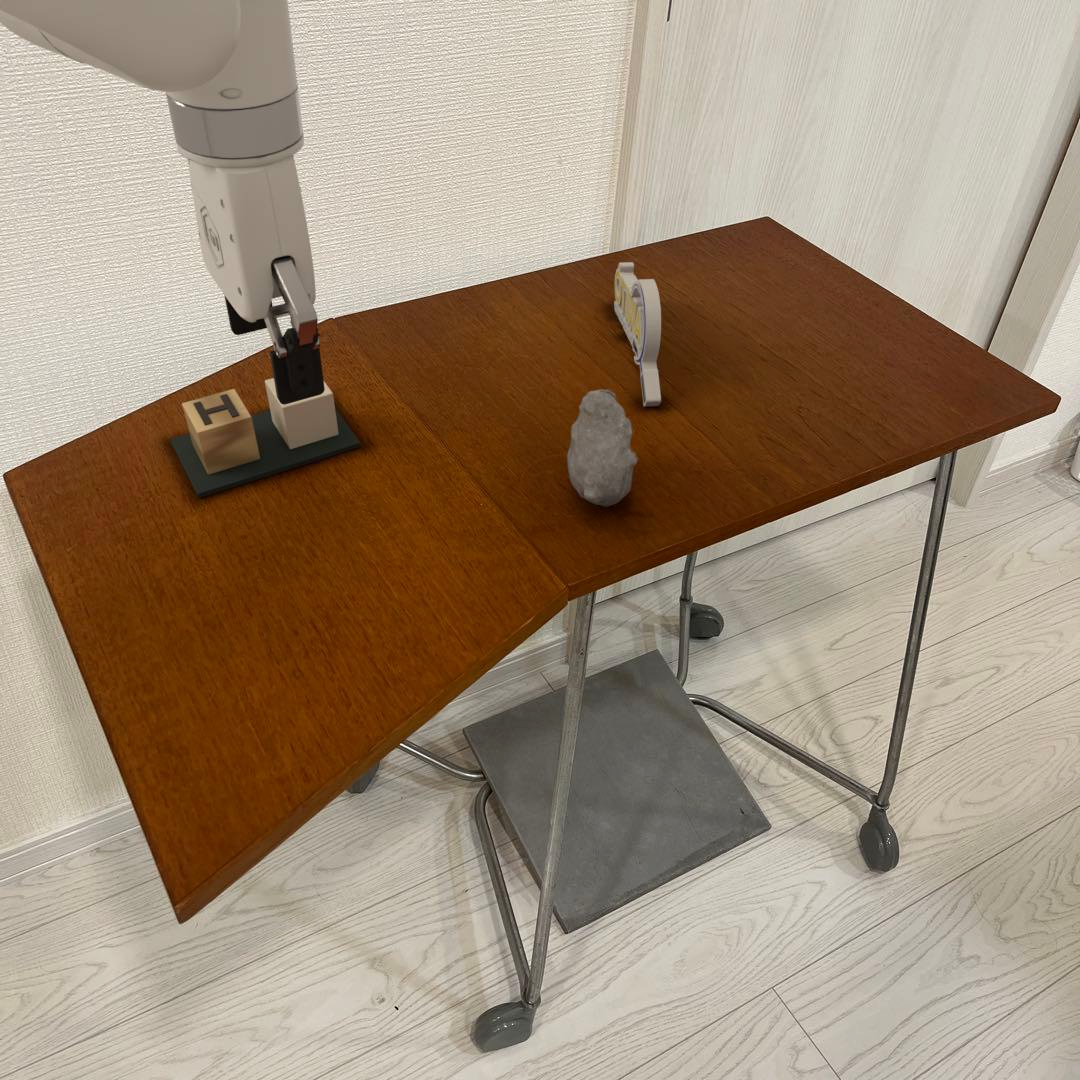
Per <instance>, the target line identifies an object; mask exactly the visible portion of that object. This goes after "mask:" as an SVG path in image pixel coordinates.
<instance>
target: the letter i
mask: <svg viewBox="0 0 1080 1080" xmlns="http://www.w3.org/2000/svg"><path fill="white" fill-rule="evenodd" d="M264 386H265V390H266V395H267V400H268V406H269V410H270V411H271V416H272V421H273V423H274V425H275V426H276V428H277V429H278V431H279V433H280V434H281V436H282V437H283V439H284V441H285V442H286V444H287V445H288V447H289V449H294V448H297V447H300V446H303V445H307V444H310V443H313V442H316V441H319V440H323V439H326V438H329V437H332V436H336V435H338V426H337V419H336V412H335V408H336V406H335V398H334V397H335V396H334V392H333V390H331V388H330V387H329V386H328V384H327V383H326V381H324V388H325V390H324V392H323V393H322V394H321V395H318V396H314V397H310V398H307V399H303V400H300V401H296V402H293V403H289V404H285V405H284V404H281V403H280V401H279V400H278V398H277V394H276V388H275V382H274V377H272V378H268V379H265V380H264Z"/></svg>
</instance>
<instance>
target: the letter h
mask: <svg viewBox="0 0 1080 1080" xmlns="http://www.w3.org/2000/svg"><path fill="white" fill-rule="evenodd" d="M181 406H182V410H183V413H184V417H185V421H186V425H187V429H188V432H189V433H188V434H190V436H191V440H192V444H193V446H194V448H195V450H196V452H197V454H198V456H199V458H200V460H201V462H202V464H203V466H204V467H205V469H206V471H207V473H208V475H210V474H213V473H216V472H219V471H223V470H226V469H229V468H232V467H236V466H239V465H242V464H245V463H248V462H252V461H255V460H258V459H260V455H259V450H258V446H257V441H256V436H255V431H254V427H253V422H252V417H251V413H250V412H249V411H248V409H247V407H246V405H245V403H244V402H243V401H242V399H241V397H240V396H239V394H238V393H237V391H236V389H235V388H232V389H229V390H224V391H221V392H217V393H213V394H210V395H207V396H203V397H199V398H196V399H193V400H188V401H186V402H182V403H181Z"/></svg>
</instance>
